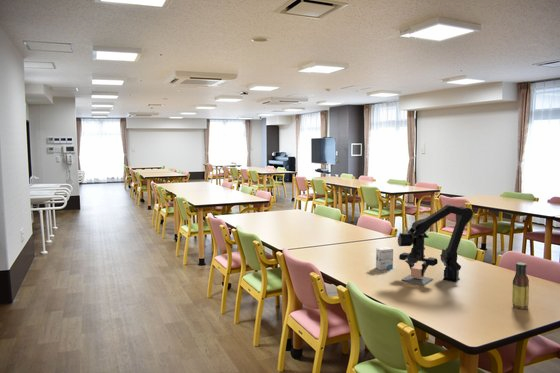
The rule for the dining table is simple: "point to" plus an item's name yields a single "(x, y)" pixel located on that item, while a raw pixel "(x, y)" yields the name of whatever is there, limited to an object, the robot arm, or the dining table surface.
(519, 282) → the sauce bottle
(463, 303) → the dining table surface
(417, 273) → the terracotta cube
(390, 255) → the ink box
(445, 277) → the robot arm
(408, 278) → the charcoal mat
